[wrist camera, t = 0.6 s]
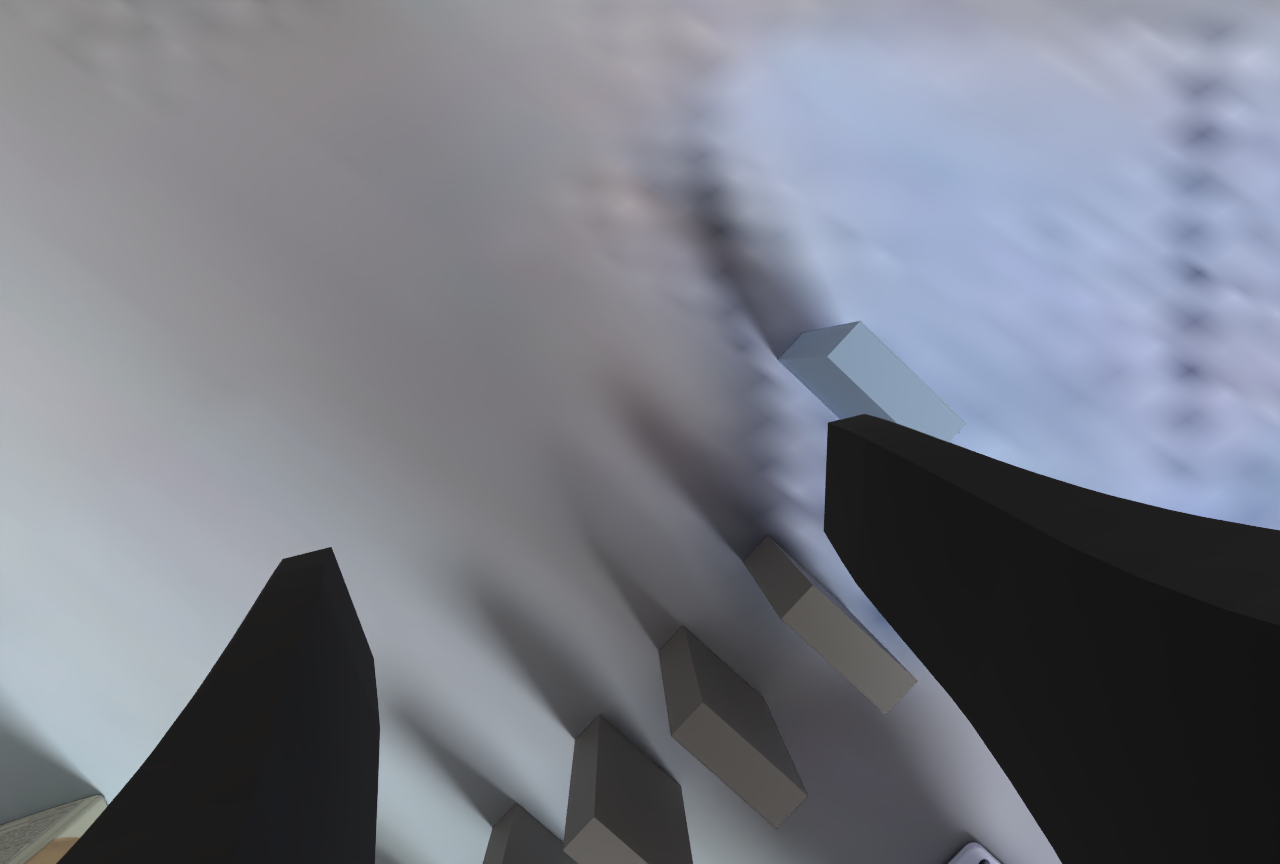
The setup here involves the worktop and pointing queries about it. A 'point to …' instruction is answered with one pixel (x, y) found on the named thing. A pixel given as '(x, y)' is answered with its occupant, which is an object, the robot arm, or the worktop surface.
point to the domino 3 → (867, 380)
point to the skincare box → (48, 832)
